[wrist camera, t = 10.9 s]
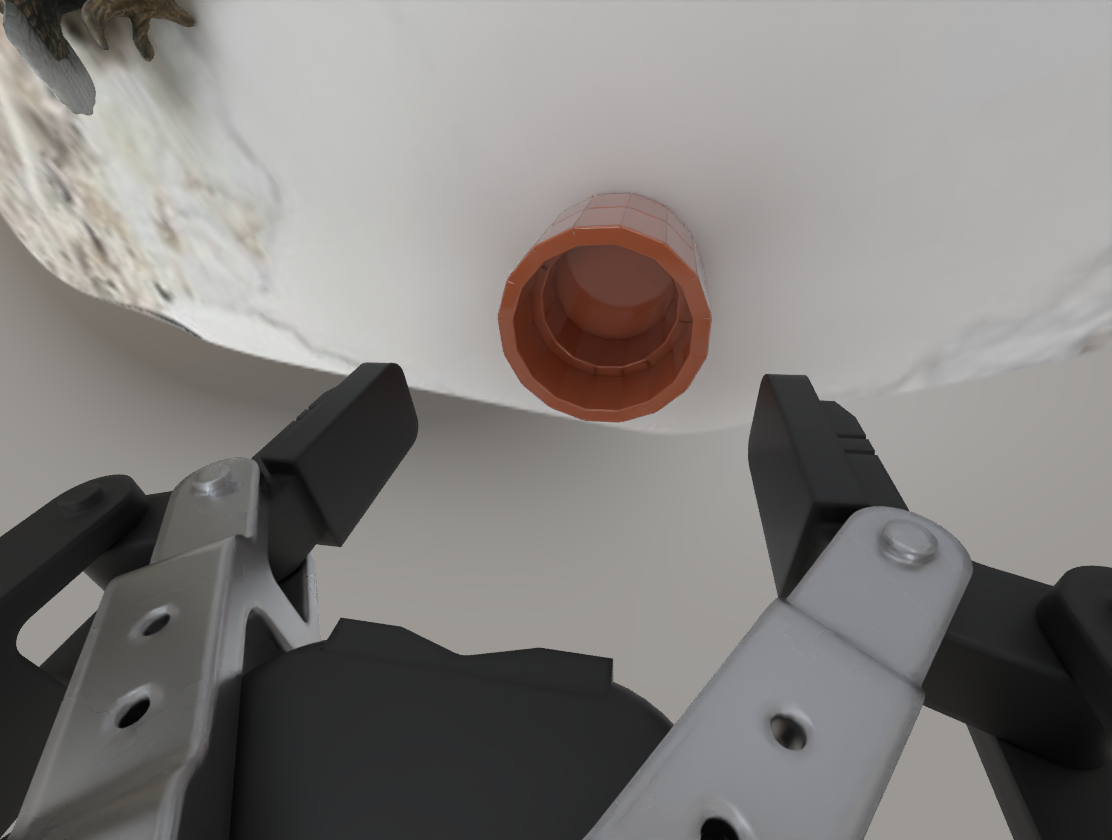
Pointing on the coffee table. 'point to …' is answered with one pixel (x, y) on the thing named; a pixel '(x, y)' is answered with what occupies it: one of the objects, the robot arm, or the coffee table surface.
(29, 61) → the eagle figurine
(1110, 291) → the coffee table surface
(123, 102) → the coffee table surface
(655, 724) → the robot arm
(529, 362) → the brown cup
